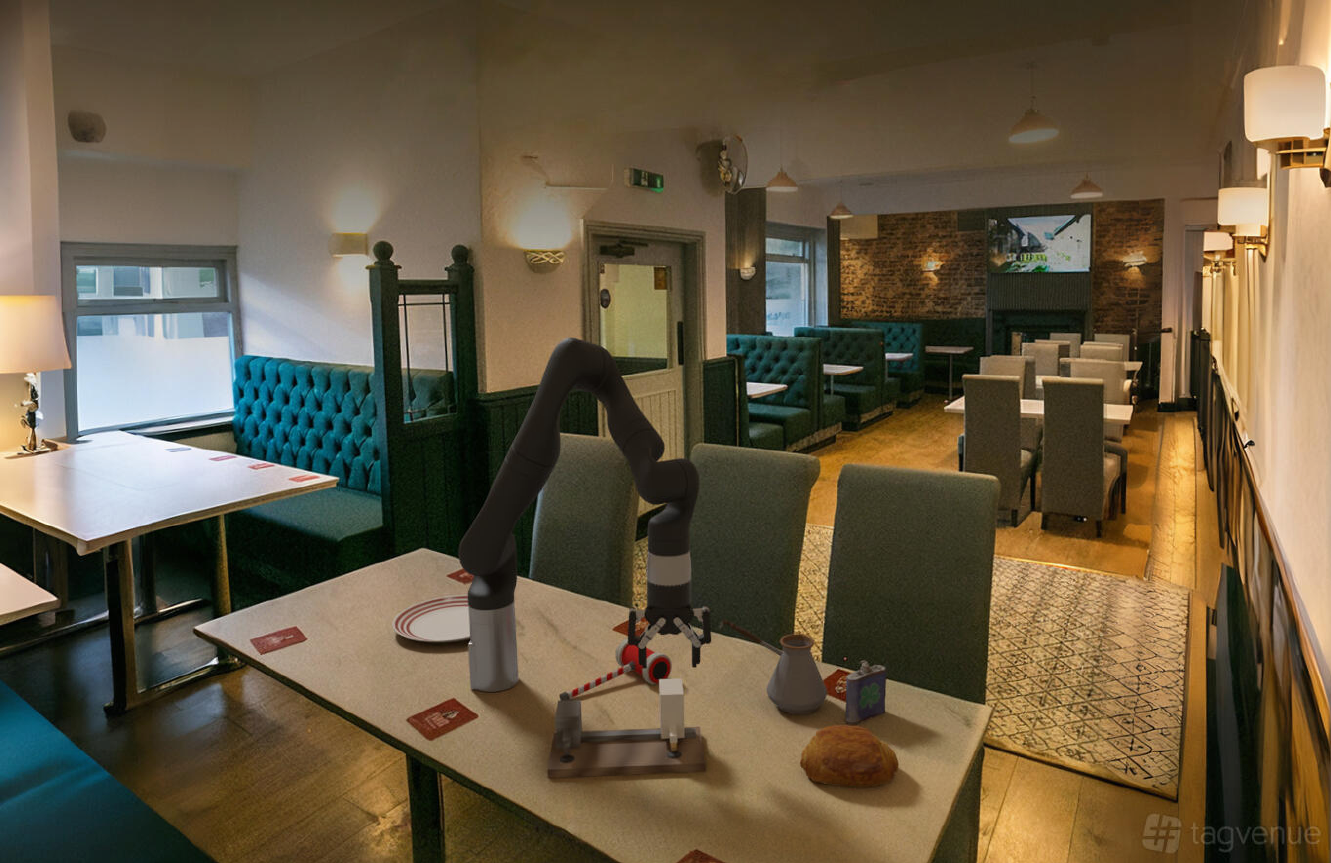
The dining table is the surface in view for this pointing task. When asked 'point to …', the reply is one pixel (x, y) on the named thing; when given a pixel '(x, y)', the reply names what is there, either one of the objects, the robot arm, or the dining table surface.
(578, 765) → the base
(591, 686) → the toy hammer
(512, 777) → the dining table surface
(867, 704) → the flask
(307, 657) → the dining table surface
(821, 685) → the coffee pot
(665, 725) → the gauge slider
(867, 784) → the croissant
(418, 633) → the dinner plate
